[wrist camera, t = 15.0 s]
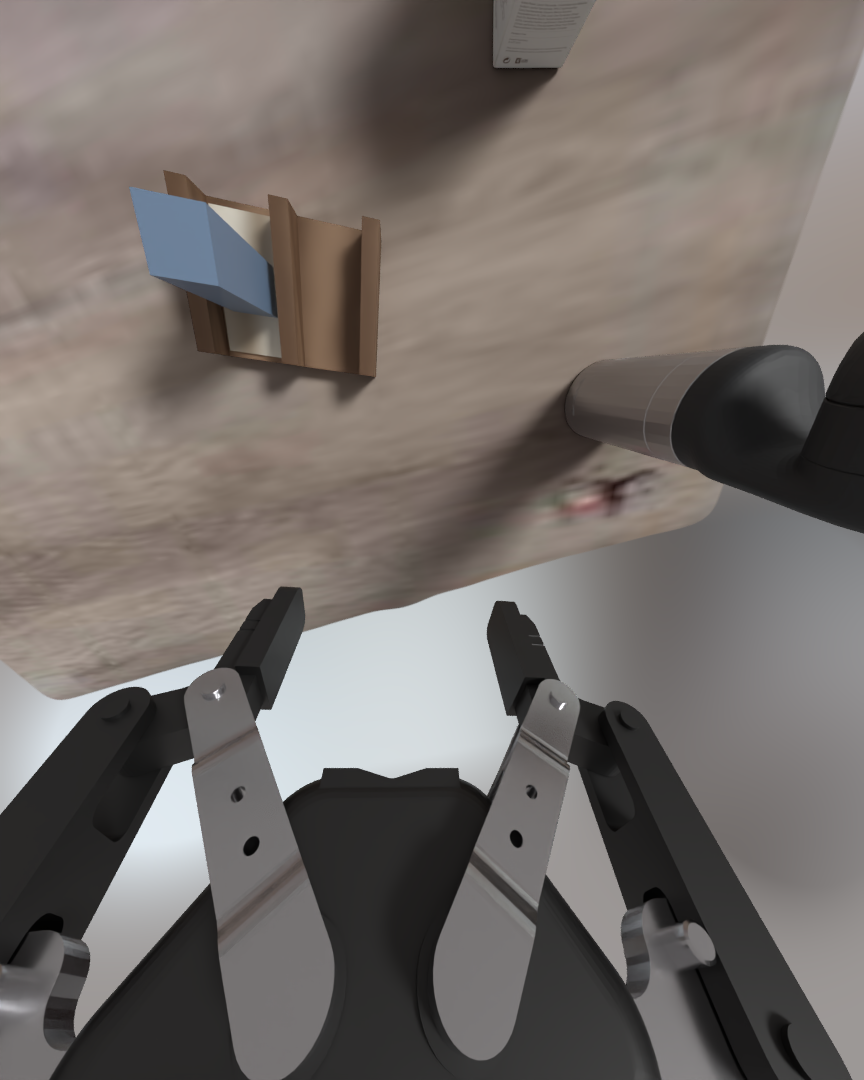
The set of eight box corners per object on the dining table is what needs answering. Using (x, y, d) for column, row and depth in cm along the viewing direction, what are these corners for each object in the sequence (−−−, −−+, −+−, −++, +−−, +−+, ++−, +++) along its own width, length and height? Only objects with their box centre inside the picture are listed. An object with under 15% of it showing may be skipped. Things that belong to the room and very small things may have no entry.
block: (272, 266, 29) (205, 202, 18) (277, 318, 31) (218, 286, 20) (226, 258, 28) (129, 186, 18) (234, 311, 30) (150, 274, 19)
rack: (381, 240, 30) (379, 220, 26) (375, 376, 36) (374, 376, 32) (196, 200, 27) (163, 170, 23) (220, 354, 33) (197, 351, 29)
